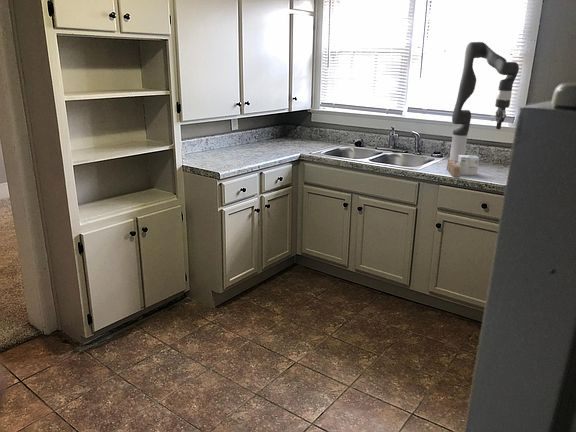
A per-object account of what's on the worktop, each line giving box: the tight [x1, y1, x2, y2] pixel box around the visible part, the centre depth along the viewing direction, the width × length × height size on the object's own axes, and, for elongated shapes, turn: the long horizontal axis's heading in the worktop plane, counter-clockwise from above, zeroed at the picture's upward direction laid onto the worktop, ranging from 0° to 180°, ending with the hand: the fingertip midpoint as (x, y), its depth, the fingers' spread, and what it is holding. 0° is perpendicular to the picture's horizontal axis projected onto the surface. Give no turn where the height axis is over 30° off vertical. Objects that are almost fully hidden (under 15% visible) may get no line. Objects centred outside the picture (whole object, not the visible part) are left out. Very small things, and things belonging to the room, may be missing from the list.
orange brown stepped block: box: [446, 159, 460, 178], centre depth 285 cm, size 20×3×6 cm, turn 173°
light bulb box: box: [457, 154, 480, 176], centre depth 283 cm, size 11×7×11 cm, turn 85°
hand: (498, 129), depth 279 cm, fingers closed
